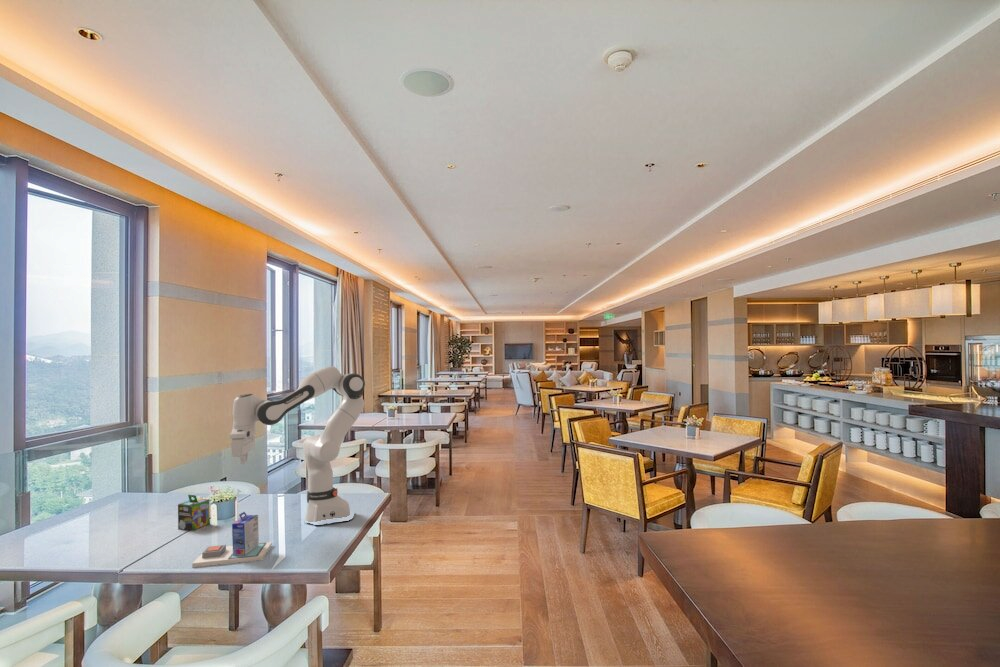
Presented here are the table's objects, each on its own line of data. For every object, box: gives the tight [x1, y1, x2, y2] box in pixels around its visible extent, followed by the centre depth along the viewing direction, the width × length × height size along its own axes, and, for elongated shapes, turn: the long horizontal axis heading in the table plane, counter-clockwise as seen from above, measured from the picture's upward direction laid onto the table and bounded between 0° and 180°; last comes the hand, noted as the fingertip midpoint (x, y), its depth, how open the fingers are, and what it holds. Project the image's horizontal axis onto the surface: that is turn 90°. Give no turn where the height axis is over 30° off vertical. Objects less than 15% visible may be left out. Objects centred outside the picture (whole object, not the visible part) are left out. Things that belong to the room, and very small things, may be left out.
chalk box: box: [177, 494, 211, 532], centre depth 218 cm, size 9×9×15 cm
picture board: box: [191, 541, 273, 568], centre depth 185 cm, size 24×14×4 cm, turn 103°
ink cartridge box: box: [231, 511, 260, 555], centre depth 186 cm, size 10×6×14 cm, turn 178°
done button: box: [207, 545, 222, 552], centre depth 183 cm, size 4×4×2 cm
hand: (243, 463), depth 207 cm, fingers closed
